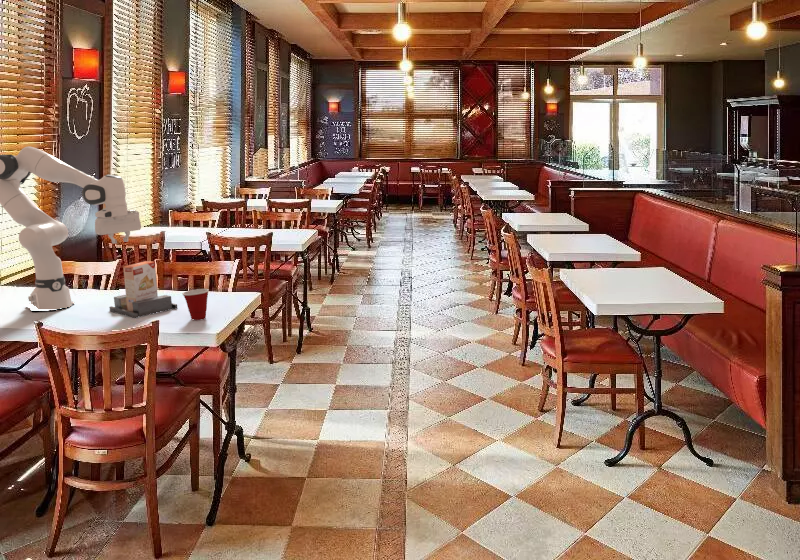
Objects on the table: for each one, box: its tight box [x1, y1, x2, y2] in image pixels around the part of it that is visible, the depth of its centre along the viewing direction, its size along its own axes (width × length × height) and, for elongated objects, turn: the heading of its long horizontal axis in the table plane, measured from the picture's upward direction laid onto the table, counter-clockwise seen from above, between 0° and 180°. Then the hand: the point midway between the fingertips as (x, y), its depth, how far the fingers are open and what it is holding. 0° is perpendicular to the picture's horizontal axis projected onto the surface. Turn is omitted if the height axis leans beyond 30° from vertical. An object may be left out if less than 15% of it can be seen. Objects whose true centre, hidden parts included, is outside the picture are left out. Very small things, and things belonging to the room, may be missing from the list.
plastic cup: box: [182, 288, 210, 321], centre depth 301 cm, size 11×11×12 cm
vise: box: [108, 294, 178, 319], centre depth 319 cm, size 22×20×6 cm
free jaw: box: [113, 294, 127, 310], centre depth 324 cm, size 5×16×6 cm, turn 140°
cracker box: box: [122, 260, 159, 312], centre depth 318 cm, size 14×6×21 cm, turn 158°
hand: (120, 242), depth 323 cm, fingers open, 4 cm apart
